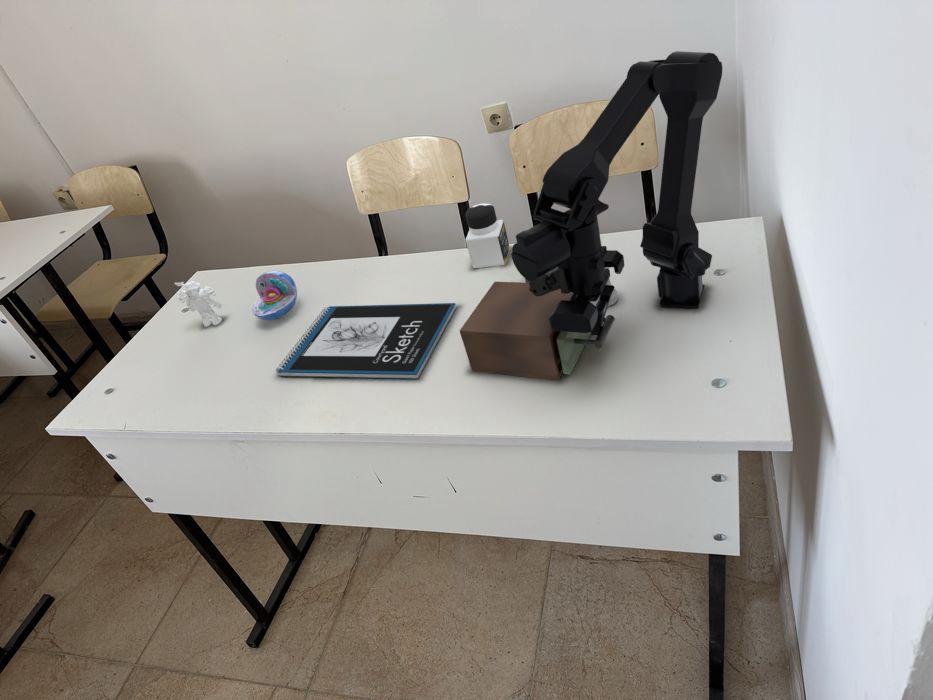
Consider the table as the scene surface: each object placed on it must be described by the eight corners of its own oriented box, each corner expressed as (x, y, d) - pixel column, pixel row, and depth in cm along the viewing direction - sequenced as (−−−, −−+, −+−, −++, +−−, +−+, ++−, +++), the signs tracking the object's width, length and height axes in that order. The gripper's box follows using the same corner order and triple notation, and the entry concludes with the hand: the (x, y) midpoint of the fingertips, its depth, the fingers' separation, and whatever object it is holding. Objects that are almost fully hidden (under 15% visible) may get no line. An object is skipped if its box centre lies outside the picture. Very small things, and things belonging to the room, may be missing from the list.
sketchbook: (418, 380, 115) (415, 370, 114) (276, 378, 126) (272, 370, 125) (456, 307, 130) (454, 299, 129) (327, 312, 142) (323, 304, 141)
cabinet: (586, 325, 115) (579, 283, 110) (558, 380, 105) (549, 336, 100) (504, 320, 123) (494, 281, 118) (471, 371, 113) (459, 330, 108)
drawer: (622, 325, 111) (618, 291, 107) (599, 377, 102) (593, 342, 98) (517, 319, 120) (509, 288, 116) (488, 366, 111) (478, 334, 107)
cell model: (249, 330, 144) (230, 293, 138) (276, 299, 153) (259, 263, 147) (288, 329, 140) (269, 291, 135) (313, 297, 149) (296, 260, 144)
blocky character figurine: (192, 330, 151) (165, 285, 144) (200, 320, 154) (174, 276, 147) (226, 325, 148) (201, 280, 142) (233, 315, 152) (209, 270, 145)
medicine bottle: (505, 265, 139) (492, 213, 132) (472, 269, 141) (458, 218, 134) (510, 248, 145) (498, 197, 138) (479, 252, 147) (465, 202, 140)
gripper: (551, 218, 107) (566, 298, 116) (507, 281, 95) (527, 366, 104) (619, 217, 102) (630, 301, 111) (582, 284, 89) (597, 373, 98)
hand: (595, 334), depth 106 cm, fingers closed
